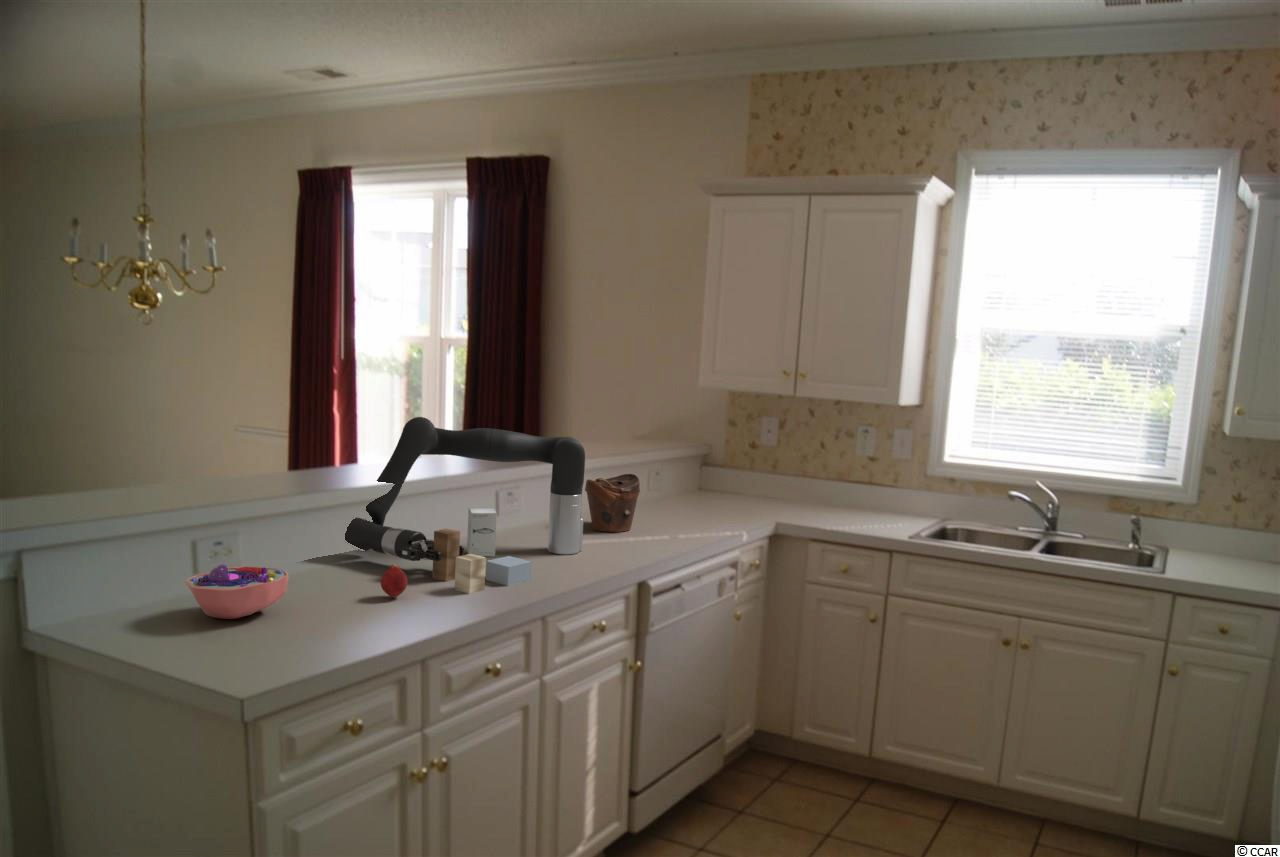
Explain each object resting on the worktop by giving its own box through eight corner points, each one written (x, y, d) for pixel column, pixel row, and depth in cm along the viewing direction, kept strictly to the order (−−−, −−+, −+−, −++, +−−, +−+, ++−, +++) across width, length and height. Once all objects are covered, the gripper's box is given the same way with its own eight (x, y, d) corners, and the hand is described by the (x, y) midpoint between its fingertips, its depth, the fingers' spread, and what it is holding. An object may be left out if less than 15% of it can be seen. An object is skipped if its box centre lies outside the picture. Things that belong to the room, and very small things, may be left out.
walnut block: (444, 574, 223) (446, 528, 222) (458, 577, 221) (460, 531, 220) (432, 578, 219) (434, 531, 218) (446, 581, 217) (447, 533, 216)
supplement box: (468, 557, 242) (470, 512, 241) (466, 551, 249) (468, 507, 248) (495, 557, 244) (497, 512, 243) (492, 550, 251) (494, 507, 250)
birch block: (469, 585, 214) (471, 553, 214) (484, 589, 212) (485, 557, 211) (454, 589, 210) (455, 557, 210) (469, 594, 208) (470, 560, 207)
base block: (508, 574, 227) (509, 555, 227) (530, 581, 222) (531, 561, 222) (485, 580, 221) (486, 560, 220) (507, 586, 216) (508, 567, 216)
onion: (397, 593, 205) (398, 559, 204) (412, 598, 201) (413, 564, 201) (375, 597, 200) (376, 563, 200) (390, 603, 197) (391, 568, 196)
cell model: (302, 617, 184) (303, 564, 183) (200, 635, 170) (200, 578, 169) (271, 598, 196) (272, 548, 195) (174, 613, 182) (174, 559, 181)
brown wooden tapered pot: (574, 531, 284) (576, 476, 282) (595, 520, 303) (597, 469, 301) (626, 537, 279) (629, 481, 277) (644, 526, 298) (647, 474, 296)
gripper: (383, 533, 220) (432, 543, 212) (423, 525, 232) (471, 534, 224) (383, 563, 221) (431, 574, 213) (423, 553, 233) (470, 563, 225)
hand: (451, 553), depth 219 cm, fingers open, 8 cm apart
